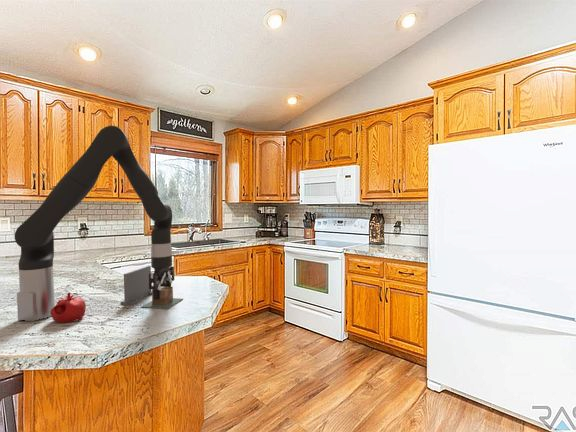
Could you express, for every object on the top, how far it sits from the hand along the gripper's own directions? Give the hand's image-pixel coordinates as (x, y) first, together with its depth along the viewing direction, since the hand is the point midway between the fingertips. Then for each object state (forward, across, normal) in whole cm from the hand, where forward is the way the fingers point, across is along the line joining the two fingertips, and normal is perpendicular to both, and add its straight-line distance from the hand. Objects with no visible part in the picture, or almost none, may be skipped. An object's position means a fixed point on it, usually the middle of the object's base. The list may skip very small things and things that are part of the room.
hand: (162, 296), depth 120 cm
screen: (+3, +5, +14) cm, 15 cm away
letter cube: (+2, 0, 0) cm, 2 cm away
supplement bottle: (+3, +24, +14) cm, 28 cm away
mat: (+3, 0, 0) cm, 3 cm away
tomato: (+3, -19, +23) cm, 30 cm away
